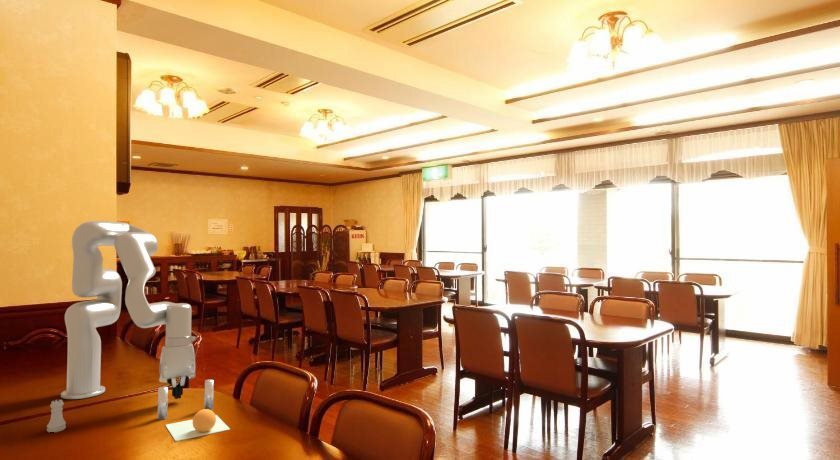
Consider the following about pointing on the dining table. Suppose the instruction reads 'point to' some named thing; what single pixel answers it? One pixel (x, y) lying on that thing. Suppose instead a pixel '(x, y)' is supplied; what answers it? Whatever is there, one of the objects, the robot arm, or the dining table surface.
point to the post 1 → (162, 402)
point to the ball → (204, 420)
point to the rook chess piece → (56, 417)
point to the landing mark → (193, 429)
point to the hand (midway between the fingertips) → (177, 397)
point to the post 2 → (209, 394)
